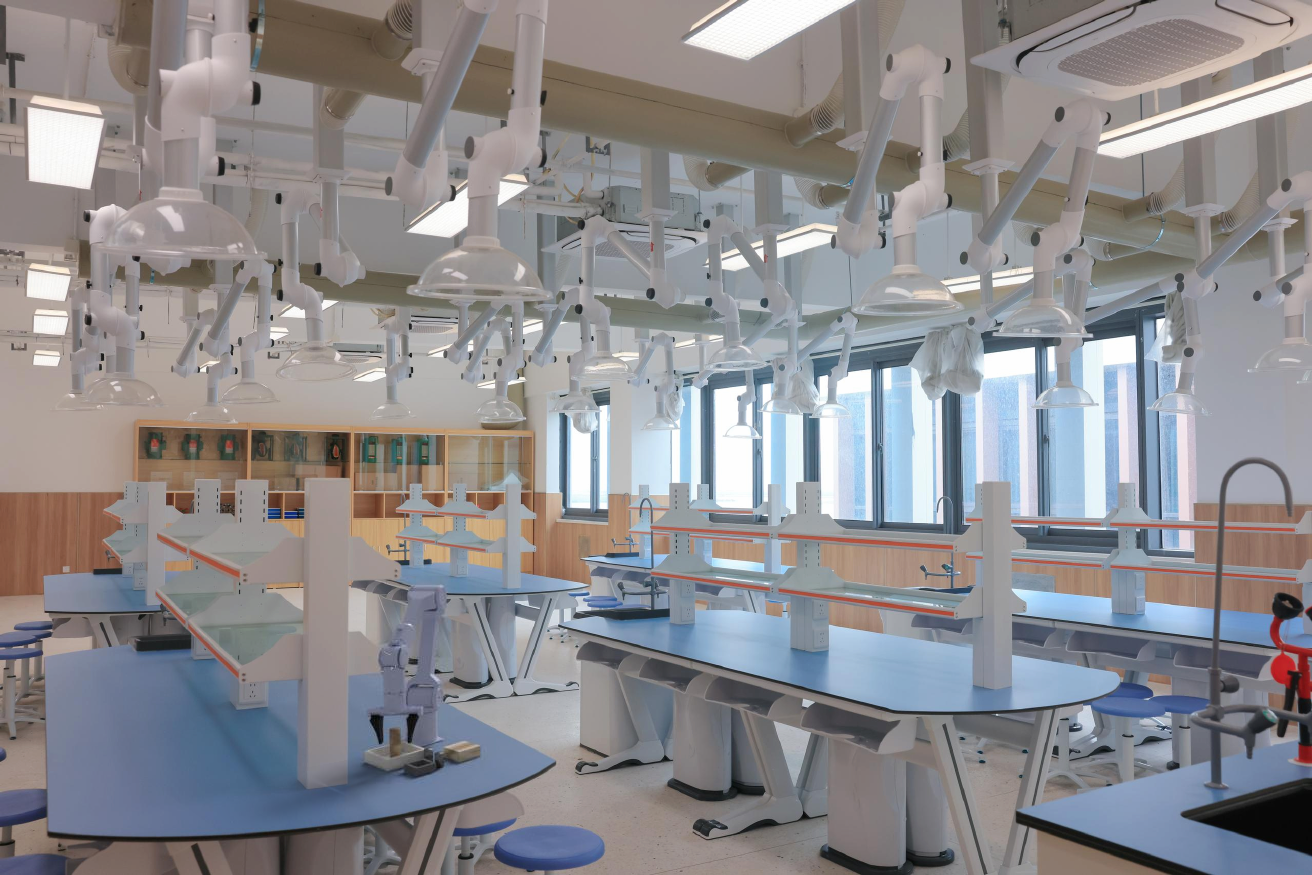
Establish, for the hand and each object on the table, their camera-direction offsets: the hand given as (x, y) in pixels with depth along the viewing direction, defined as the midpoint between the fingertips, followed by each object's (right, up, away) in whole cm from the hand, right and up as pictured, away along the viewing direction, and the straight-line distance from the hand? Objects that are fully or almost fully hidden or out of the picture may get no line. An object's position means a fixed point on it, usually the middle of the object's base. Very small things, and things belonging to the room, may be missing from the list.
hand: (395, 742), depth 252 cm
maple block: (+17, -5, +3) cm, 18 cm away
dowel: (0, -4, 0) cm, 4 cm away
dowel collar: (+9, -5, -8) cm, 13 cm away
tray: (0, -5, 0) cm, 5 cm away
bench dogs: (+11, -5, -3) cm, 12 cm away
